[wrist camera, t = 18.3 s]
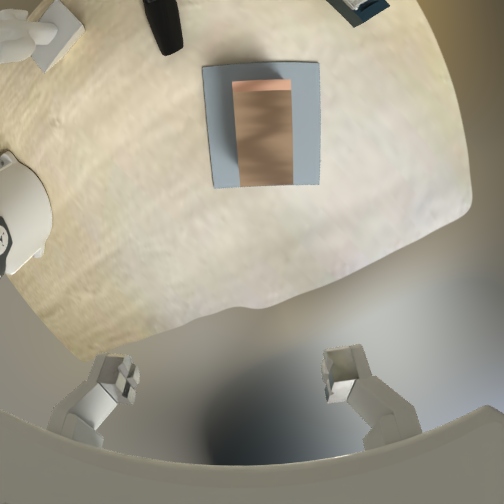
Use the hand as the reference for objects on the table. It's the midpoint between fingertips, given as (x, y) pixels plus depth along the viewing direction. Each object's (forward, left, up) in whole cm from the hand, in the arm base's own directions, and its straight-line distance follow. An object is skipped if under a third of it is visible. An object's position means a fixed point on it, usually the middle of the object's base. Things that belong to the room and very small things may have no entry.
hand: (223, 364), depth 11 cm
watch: (+12, +21, -24) cm, 34 cm away
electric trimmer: (-8, +22, -24) cm, 34 cm away
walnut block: (+2, +1, -21) cm, 21 cm away
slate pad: (+2, +6, -24) cm, 25 cm away
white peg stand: (-21, +22, -24) cm, 39 cm away
